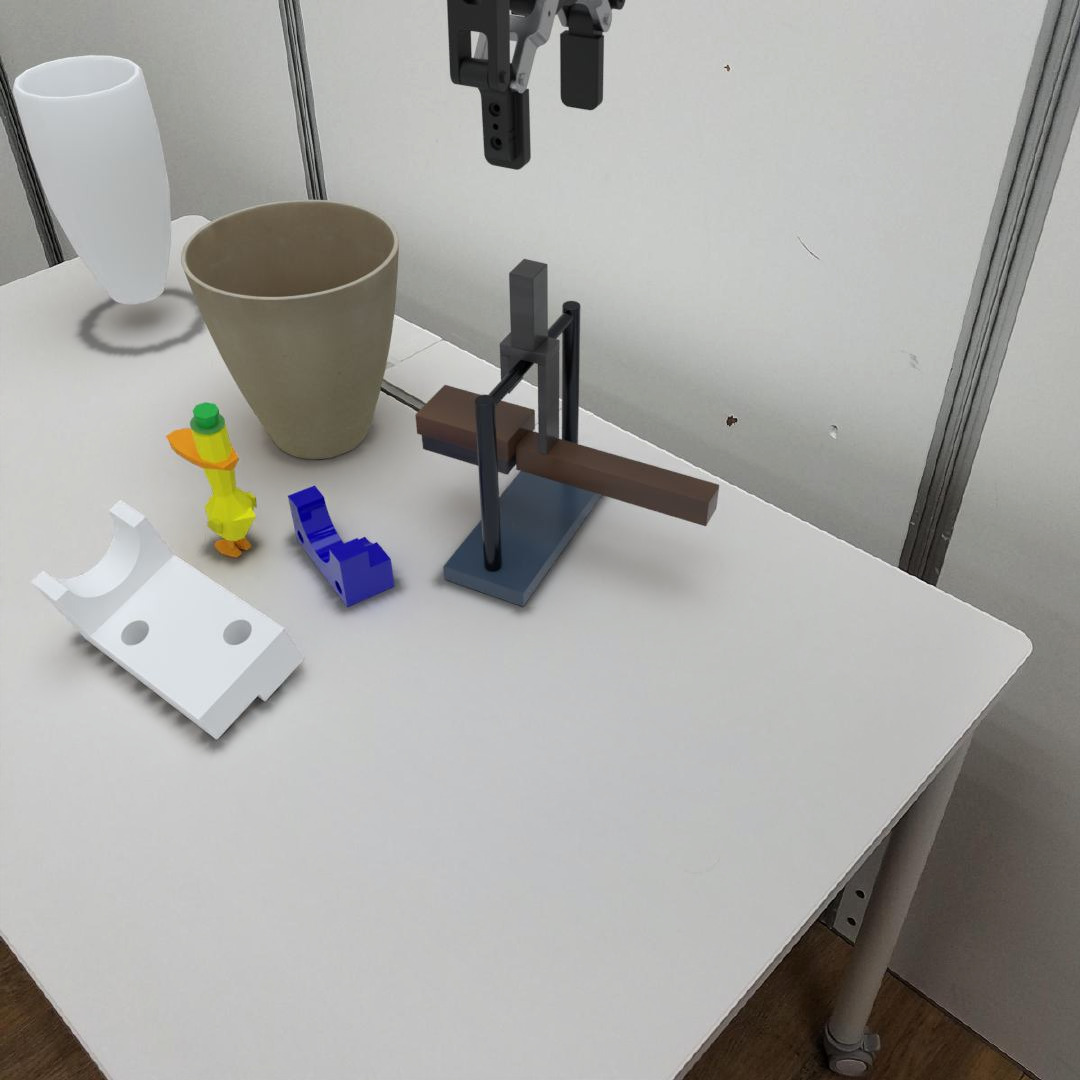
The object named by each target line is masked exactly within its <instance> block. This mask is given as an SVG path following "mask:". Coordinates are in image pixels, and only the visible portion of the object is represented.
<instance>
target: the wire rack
mask: <svg viewBox="0 0 1080 1080" xmlns="http://www.w3.org/2000/svg"><path fill="white" fill-rule="evenodd" d="M581 306H582V305H581V304H580V302H578V301H575V300H568V301H567V300H566V301H564V302H563V303H562V305H561V307H562V308H561V311H562V312H561V315H560V316H558V318H557V319H556V320H555V321H554V322H553V323H552V325H551V326H550V327H548V337H550V338H554V339H558V338H559V337H560V335H561V439H562V440H566V441H569V442H572V443H576V444H579V422H580V421H579V420H580V419H579V417H580V415H579V414H580V364H581V363H580V362H581V361H580V358H581V357H580V356H581V355H580V354H581ZM534 365H535V363H532V362H528V361H524V360H520V361H519V362H518V363H517V364H516V365H515V366H514V367H513V368H512V369H511V370H510V371H509V373H508V374H507V375H506V376H505V377H504V378H503V379H502V380H501V379H500V381H499V382H498V383H497V384H496V385H495V386H494V388H493V389H492V390H491V391H490V392H489V393H488V394H480V396H478V397H476V399H475V418H476V435H477V452H478V466H477V467H478V485H479V486H478V487H479V502H480V518H481V519H480V521H478V523H477V524H476V525H475V527H474V528H473V529H472V530H471V531H470V532H469V534H468V535H467V536H466V538H465V539H464V540H463V541H462V542H461V544H460V545H459V546H458V548H457V549H456V550H455V551H454V552H453V554H452V555H451V557H450V558H449V559H448V560H447V562H446V563H444V565H443V566H442V569H443V576H444V577H443V579H444V580H445V581H448V582H452V583H454V584H457V585H460V586H463V587H466V588H468V589H472V590H475V591H476V592H480V593H483V594H485V595H488V596H491V597H494V598H497V599H500V600H503V601H505V602H509V603H512V604H515V605H517V606H520V607H525V605H526V604H527V602H528V601H529V599H530V598H531V597H532V595H533V594H534V592H535V591H536V589H537V588H538V587H539V586H540V583H541V582H542V581H543V580H544V578H545V576H546V575H547V574H548V572H549V571H550V570H551V568H552V567H553V565H554V564H555V563H556V561H557V560H558V558H559V557H560V555H561V554H562V553H563V552H564V550H565V548H566V547H567V546H568V544H569V543H570V541H571V540H572V539H573V537H574V535H575V534H576V533H577V531H578V530H579V529H580V527H581V525H582V524H583V523H584V521H585V520H586V519H587V517H588V516H589V514H590V513H591V511H592V510H593V508H595V506H596V504H597V503H598V501H600V498H601V497H603V495H600V494H596V493H593V492H590V491H586V490H583V489H580V488H576V487H573V486H570V485H566V484H563V483H560V482H557V481H553V480H550V479H547V478H543V477H540V476H537V475H533V474H530V473H527V472H523V471H520V470H519V471H518V473H517V475H516V476H515V477H514V478H513V479H512V481H511V482H510V483H509V484H508V486H507V487H506V488H505V490H504V491H503V492H502V493H501V494H500V485H499V482H500V481H499V472H498V459H497V435H496V412H495V407H496V406H497V405H498V403H499V402H500V401H501V400H502V401H503V399H504V398H505V397H506V396H507V395H508V392H509V391H510V390H511V389H512V388H513V387H514V386H515V384H516V383H517V382H518V381H519V380H520V379H521V378H522V377H523V378H524V376H525V375H526V374H527V372H528V371H529V370H530V369H531V368H532V367H533V366H534Z"/></svg>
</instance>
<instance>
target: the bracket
mask: <svg viewBox="0 0 1080 1080" xmlns="http://www.w3.org/2000/svg"><path fill="white" fill-rule="evenodd" d="M108 512H109V514H110V515H111V518H112V521H113V535H112V536H113V537H112V540H111V543H110V545H109V548H108V549H107V551H106V553H105V554H104V556H103V557H102V558H101V559H100V560H99V562H98V563H96V564H95V565H94V566H93V567H92V568H90V569H89V570H87V571H86V572H84V573H82V574H80V575H78V576H73V577H70V578H59V577H54V576H51V575H49V574H48V573H47V572H46V571H45V570H41V572H40V573H38V574H37V575H36V576H35V577H34V578H33V579H32V580H30V583H31V584H32V586H34V587H35V588H36V589H37V590H38V591H39V593H40V594H41V595H43V596H44V598H45V599H46V600H47V601H49V603H50V604H51V605H52V606H53V607H54V608H55V609H56V610H57V611H58V612H59V613H60V614H61V615H62V616H63V617H64V618H65V619H66V620H67V622H68V623H69V624H70V625H71V626H73V628H74V629H75V630H76V631H77V632H78V633H79V634H80V635H81V637H83V638H84V639H85V640H86V641H87V642H89V643H90V644H91V645H93V647H95V648H97V649H98V650H99V651H101V652H102V653H103V654H105V655H106V656H107V657H108V658H110V659H111V661H113V662H115V663H116V664H117V665H118V666H120V667H121V668H123V669H124V670H125V671H126V672H127V673H129V674H130V675H132V676H133V677H134V678H136V679H137V680H138V681H139V682H141V683H142V684H144V685H145V686H146V687H147V688H148V689H150V690H151V691H152V692H154V693H155V694H156V695H158V696H159V697H160V698H161V699H163V700H164V701H166V702H167V703H168V704H169V705H170V706H172V707H173V708H174V709H176V710H177V711H178V712H180V713H181V714H182V715H184V716H185V717H186V718H188V719H189V720H190V721H191V722H193V723H194V724H195V725H196V726H198V727H199V728H201V729H202V730H203V731H204V732H205V733H206V734H208V735H209V736H211V737H212V738H213V739H215V740H217V741H218V740H219V738H220V737H221V736H222V735H223V734H224V733H225V732H226V731H227V730H228V728H230V726H232V724H233V723H234V722H235V721H236V720H237V719H238V718H239V717H240V716H241V714H243V712H244V711H245V710H247V708H248V707H249V706H250V705H251V704H252V703H253V702H254V701H255V699H256V698H257V697H258V698H259V699H260V700H262V701H263V702H267V700H268V699H269V698H270V697H271V696H272V695H273V694H274V693H275V691H276V690H277V689H278V688H279V687H280V686H281V685H282V684H283V683H284V681H286V680H287V678H288V677H290V675H291V674H292V673H293V672H294V671H295V670H296V669H297V667H299V666H300V664H301V663H302V662H303V661H304V660H305V659H306V657H305V656H304V655H303V653H302V652H301V650H300V649H299V647H298V645H297V644H296V643H295V641H294V640H293V639H292V637H291V636H290V634H289V632H288V631H287V629H286V628H285V627H284V626H282V625H281V624H279V623H278V622H276V621H274V620H273V619H271V618H270V617H269V616H267V615H265V614H264V613H263V612H261V611H260V610H258V609H256V608H255V607H254V606H252V605H251V604H249V603H248V602H246V601H244V600H243V599H242V598H240V597H238V596H237V595H236V594H234V593H233V592H231V591H229V590H228V589H227V588H225V587H223V586H222V585H220V584H219V583H218V582H216V581H215V580H213V579H211V578H210V577H209V576H207V575H206V574H204V573H203V572H201V571H199V570H198V569H197V568H195V567H194V566H193V565H191V564H189V563H188V562H186V561H185V560H183V559H181V558H180V556H177V555H176V554H175V553H174V552H173V551H172V550H171V548H170V547H169V546H168V544H167V543H166V542H165V540H164V539H163V537H162V536H161V535H160V533H159V532H158V530H157V529H156V528H155V526H154V525H153V524H152V522H151V521H150V520H149V519H148V518H147V516H146V515H144V514H143V513H141V512H139V511H138V510H137V509H135V508H133V507H132V506H130V505H129V504H127V503H125V502H124V501H123V500H121V499H119V500H118V501H117V502H116V503H114V504H113V505H112V507H110V508H109V509H108Z"/></svg>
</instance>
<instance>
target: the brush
mask: <svg viewBox="0 0 1080 1080" xmlns="http://www.w3.org/2000/svg"><path fill="white" fill-rule="evenodd" d="M548 265H549V264H548V263H545V262H541V261H536V260H532V259H527V258H523V259H522V260H521V261H520V262H518V263H517V265H516V266H515V267H514V268H512V269H511V271H509V273H508V285H509V286H508V287H509V289H508V290H509V317H510V319H509V320H510V332H509V333H508V334H507V335H506V336H505V337H504V338H503V339H502V340H501V341H500V342H499V363H500V366H499V367H500V381H501V380H502V379H503V378H504V377H505V376H506V375H507V374H508V373H509V371H510V370H511V369H512V368H513V367H514V366H515V365H516V364H517V363H518V362H519V361H520V360H524V361H528V362H532V363H534V365H535V364H536V365H537V428H538V431H535V430H536V410H535V409H534V408H530V407H527V406H523V405H519V404H515V403H513V402H509V401H505V400H503V399H502V400H501V401H500V402H499V403H498V405H497V406H496V407H495V412H496V435H497V459H498V473H500V474H502V475H503V474H504V475H509V474H510V473H511V472H512V470H513V469H514V468H515V470H516V471H519V472H520V471H523V472H527V473H530V474H533V475H537V476H540V477H543V478H547V479H550V480H553V481H557V482H560V483H563V484H566V485H570V486H573V487H576V488H580V489H583V490H586V491H590V492H593V493H596V494H600V495H602V497H603V496H604V497H607V498H610V499H613V500H615V501H619V502H623V503H627V504H630V505H633V506H637V507H639V508H643V509H647V510H650V511H652V512H656V513H660V514H663V515H666V516H669V517H672V518H676V519H680V520H683V521H685V522H690V523H693V524H697V525H699V526H703V527H707V526H708V524H709V522H710V520H711V519H712V517H713V515H714V513H715V511H716V510H717V507H718V499H719V490H720V484H719V483H715V482H712V481H709V480H704V479H701V478H698V477H694V476H691V475H687V474H684V473H681V472H676V471H673V470H670V469H666V468H663V467H659V466H656V465H652V464H648V463H645V462H642V461H640V460H639V461H638V460H635V459H631V458H627V457H624V456H622V455H617V454H614V453H612V452H611V453H610V452H607V451H604V450H601V449H597V448H593V447H589V446H587V445H583V444H579V443H578V444H576V443H572V442H569V441H566V440H562V438H560V346H561V345H560V339H558V338H557V339H554V338H550V337H548V329H549V327H548V326H549V322H548V320H549V301H548V300H549V298H548V297H549V295H548V293H549V291H548V290H549V289H548V287H549V286H548V285H549V284H548V282H549V281H548V278H549V277H548ZM523 379H524V376H523V377H522V378H521V379H520V380H519V381H518V382H517V383H516V384H515V386H514V387H513V388H512V389H511V390H510V391H509V392H508V393H507V395H509V394H511V393H512V392H513V391H514V389H515V388H516V387H517V386H518V385H519V384H520V383H521V381H523ZM480 395H481V394H480V393H477V392H473V391H469V390H467V389H462V388H458V387H455V386H451V385H447V384H444V385H443V386H442V387H441V388H440V389H439V390H438V391H437V392H436V393H435V394H434V395H433V396H432V397H431V398H430V399H429V400H428V401H427V402H426V403H425V404H424V405H423V406H421V408H420V409H419V410H418V411H417V412H416V413H415V416H414V417H415V426H416V434H417V435H420V436H421V445H422V450H425V451H427V452H431V453H434V454H438V455H441V456H445V457H447V458H451V459H453V460H458V461H461V462H464V463H468V464H470V465H473V466H476V467H478V452H477V435H476V418H475V399H476V397H478V396H480Z"/></svg>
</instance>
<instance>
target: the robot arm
mask: <svg viewBox="0 0 1080 1080" xmlns="http://www.w3.org/2000/svg"><path fill="white" fill-rule="evenodd" d="M625 4H626V0H446V7H447V8H446V9H447V33H448V58H449V77H450V80H451V82H452V84H454V85H457V86H464V87H469V88H476V89H478V91H479V94H480V100H481V101H480V103H481V104H480V105H481V120H482V121H481V122H482V123H481V124H482V139H483V140H482V142H483V154H484V159H485V160H486V162H487V163H488V164H489V165H491V166H495V167H499V168H503V169H510V170H516V171H519V170H521V169H523V168H524V167H525V166H526V165H528V164H529V163H530V161H531V159H532V158H531V157H532V155H531V154H532V153H531V151H532V149H531V147H532V146H531V115H530V113H531V112H530V89H529V88H528V85H529V81H530V77H531V73H532V69H533V66H534V65H533V64H534V61H535V57H536V54H537V50H538V49H539V48H540V47H541V46H544V45H545V44H546V43H547V42H548V41H549V40H550V36H551V33H552V29H553V25H554V22H555V18H556V16H557V17H558V19H559V22H560V24H561V26H562V27H564V28H568V29H565V30H563V31H562V32H561V33H559V68H560V69H559V71H560V74H559V77H560V78H559V81H560V101H561V103H562V104H563V105H564V106H566V107H567V108H572V109H578V110H584V111H594V110H596V108H598V107H599V106H600V105H601V104H602V103H603V100H604V67H605V66H604V65H605V64H604V60H605V59H604V58H605V35H604V33H607V32H609V31H610V28H611V26H612V22H613V11H612V10H619V11H621V10H623V8H624V6H625ZM472 32H474V33H475V32H476V33H479V35H478V39H477V43H476V45H475V51H474V55H473V54H472V53H473V52H472V51H473V50H472ZM511 42H515V46H514V51H513V55H512V59H511ZM472 55H473V56H472Z"/></svg>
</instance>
